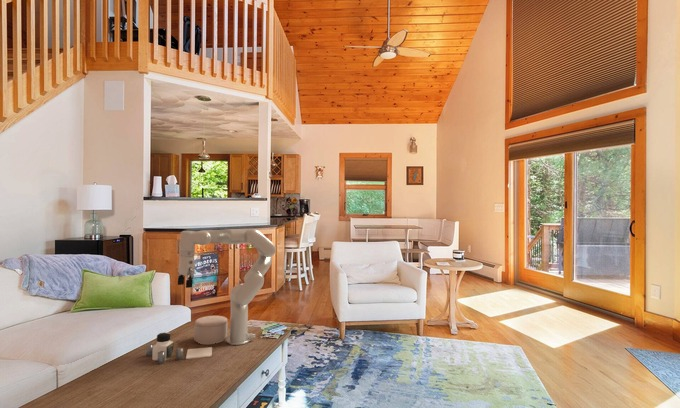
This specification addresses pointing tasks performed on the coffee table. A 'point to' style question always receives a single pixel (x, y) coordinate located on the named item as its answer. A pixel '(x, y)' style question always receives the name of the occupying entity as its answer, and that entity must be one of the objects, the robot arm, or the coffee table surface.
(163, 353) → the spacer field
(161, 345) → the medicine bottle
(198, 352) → the pad
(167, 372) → the coffee table surface
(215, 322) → the container
